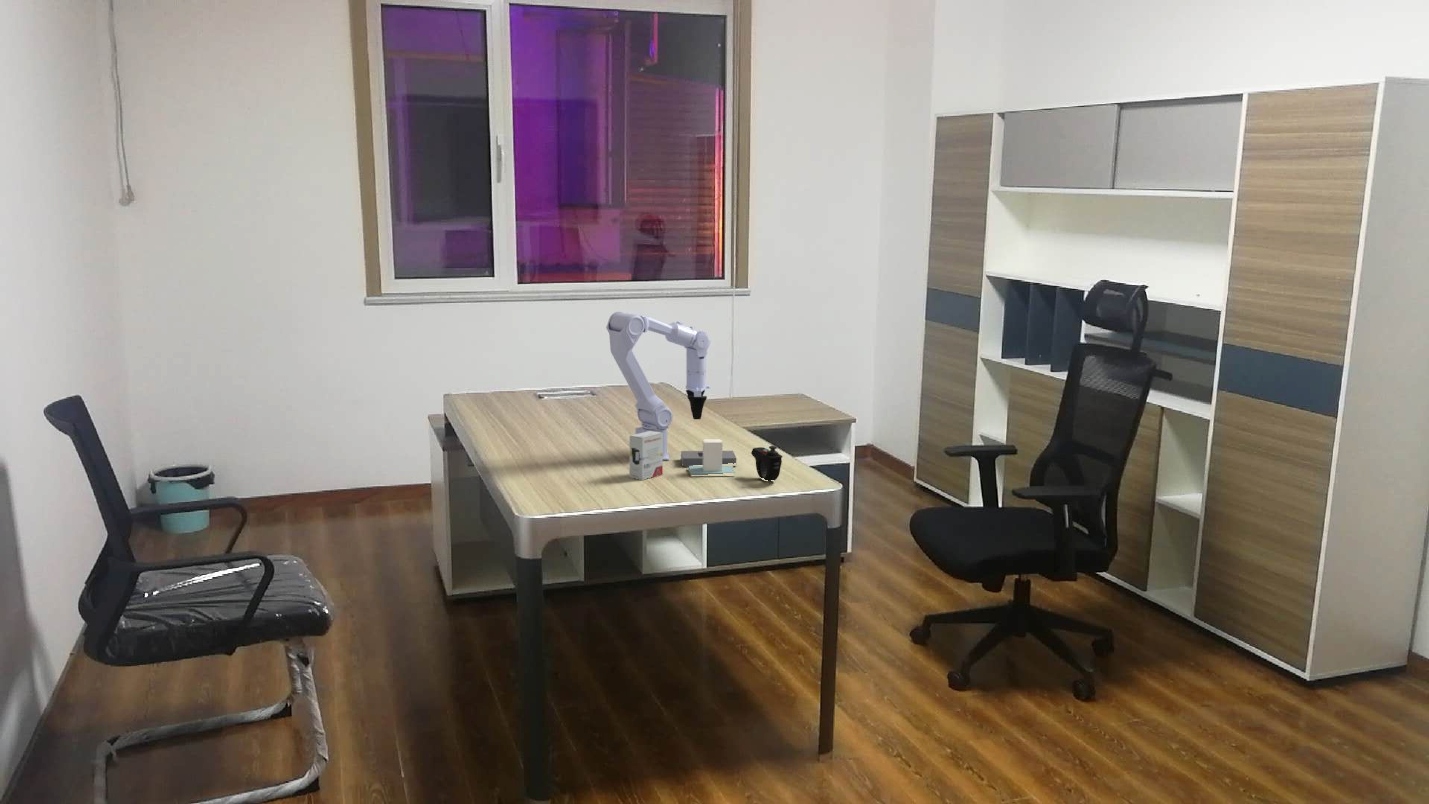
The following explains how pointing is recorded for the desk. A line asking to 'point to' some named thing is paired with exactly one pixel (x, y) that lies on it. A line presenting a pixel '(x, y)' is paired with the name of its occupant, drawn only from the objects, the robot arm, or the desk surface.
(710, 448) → the plug
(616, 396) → the desk surface
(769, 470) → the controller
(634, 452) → the ink box
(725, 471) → the mat
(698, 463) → the grey board with hole
